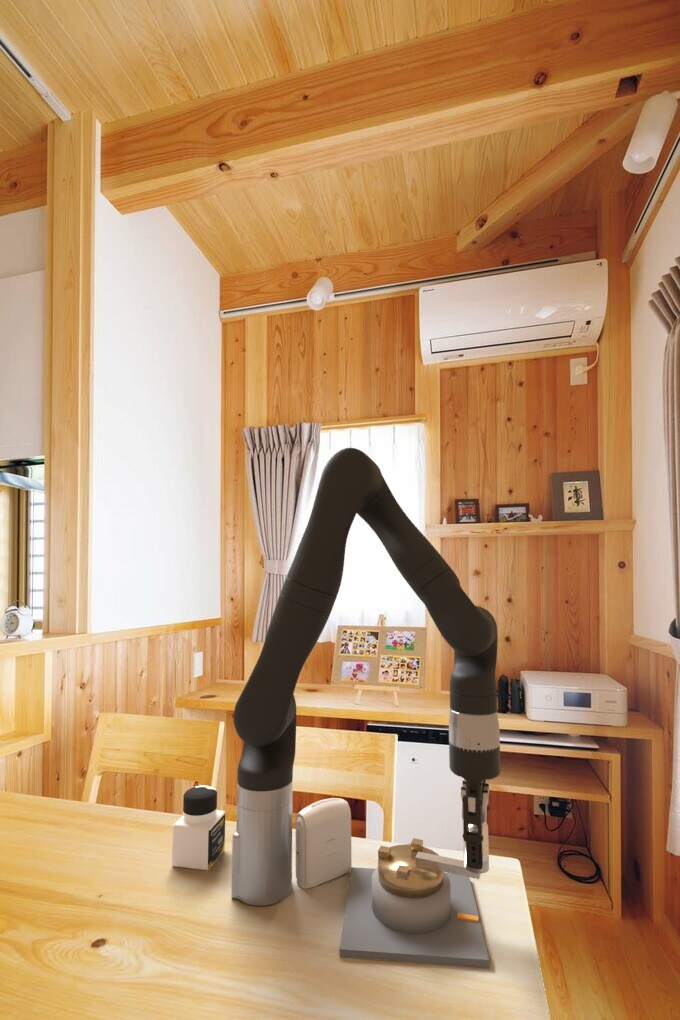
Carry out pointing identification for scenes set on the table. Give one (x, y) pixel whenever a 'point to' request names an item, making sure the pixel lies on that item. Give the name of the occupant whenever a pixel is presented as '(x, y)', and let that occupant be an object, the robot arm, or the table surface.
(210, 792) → the medicine bottle
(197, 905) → the table surface
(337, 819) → the photo printer
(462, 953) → the plate
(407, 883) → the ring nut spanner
